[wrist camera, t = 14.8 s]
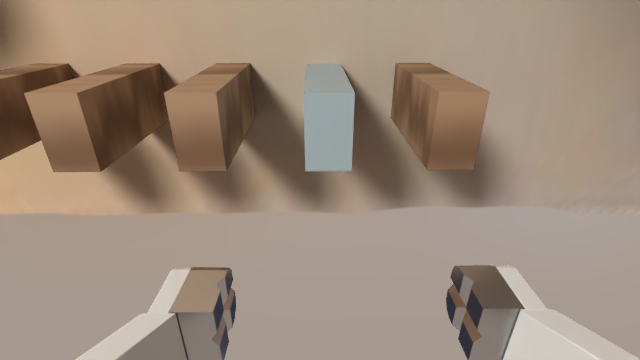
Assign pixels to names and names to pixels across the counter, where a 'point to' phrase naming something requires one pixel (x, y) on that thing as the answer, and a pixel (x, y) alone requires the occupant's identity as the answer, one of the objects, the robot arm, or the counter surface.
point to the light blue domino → (328, 118)
